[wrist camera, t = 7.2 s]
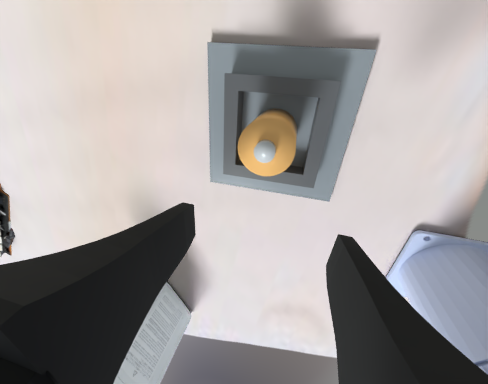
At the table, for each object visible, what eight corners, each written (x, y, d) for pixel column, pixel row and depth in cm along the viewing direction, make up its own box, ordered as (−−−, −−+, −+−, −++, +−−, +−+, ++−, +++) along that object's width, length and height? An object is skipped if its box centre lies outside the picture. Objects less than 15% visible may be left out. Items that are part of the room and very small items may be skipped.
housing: (373, 50, 13) (385, 46, 11) (328, 198, 19) (331, 211, 17) (210, 43, 15) (198, 38, 13) (212, 179, 21) (203, 189, 19)
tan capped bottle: (300, 110, 15) (301, 124, 10) (292, 154, 17) (289, 184, 12) (255, 106, 16) (236, 117, 11) (252, 149, 18) (233, 175, 13)
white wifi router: (140, 273, 32) (60, 371, 21) (160, 269, 30) (84, 374, 19) (176, 316, 35) (123, 418, 25) (196, 315, 33) (148, 424, 23)
